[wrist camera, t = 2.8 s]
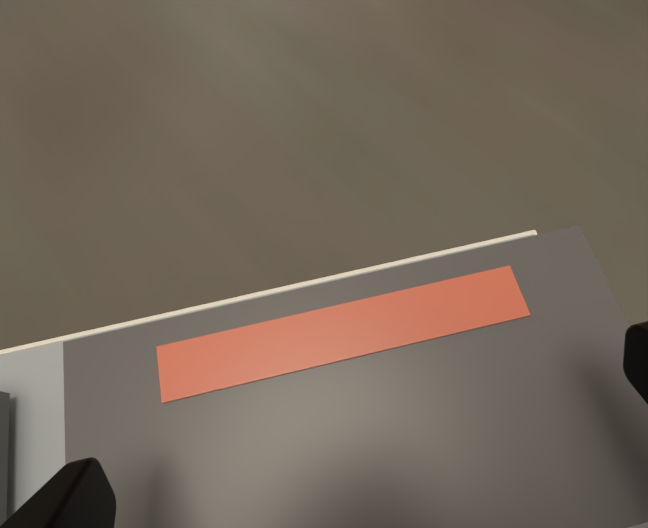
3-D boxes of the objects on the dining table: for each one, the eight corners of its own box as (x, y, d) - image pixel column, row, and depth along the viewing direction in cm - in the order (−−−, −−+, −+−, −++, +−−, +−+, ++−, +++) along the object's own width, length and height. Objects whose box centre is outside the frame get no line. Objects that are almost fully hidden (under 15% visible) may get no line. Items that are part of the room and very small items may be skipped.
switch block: (548, 515, 19) (685, 548, 12) (-221, 723, 17) (-650, 924, 10) (470, 304, 22) (537, 227, 15) (-177, 456, 20) (-468, 453, 13)
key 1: (658, 496, 11) (721, 502, 9) (115, 643, 10) (67, 683, 8) (547, 255, 13) (581, 223, 11) (100, 358, 12) (61, 340, 10)
